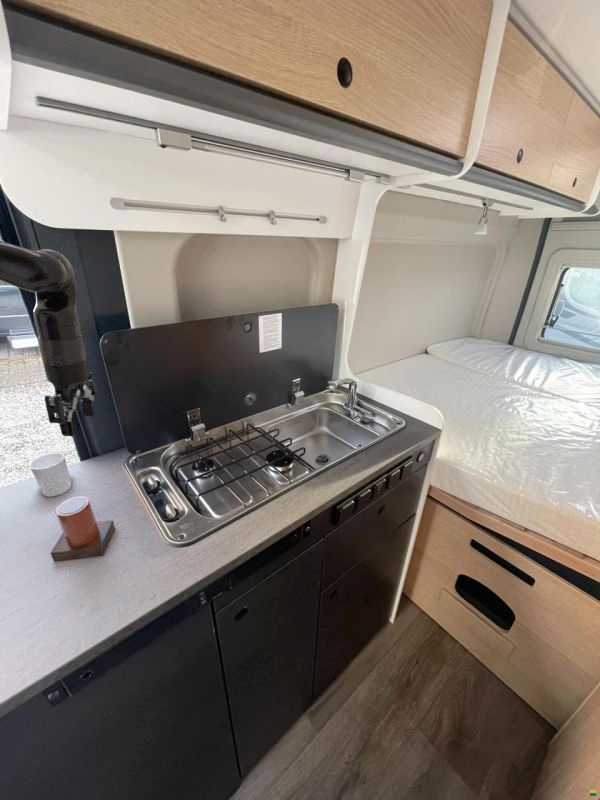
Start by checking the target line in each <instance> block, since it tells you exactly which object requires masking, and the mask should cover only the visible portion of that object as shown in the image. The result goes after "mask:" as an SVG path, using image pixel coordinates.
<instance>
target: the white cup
mask: <svg viewBox="0 0 600 800" xmlns="http://www.w3.org/2000/svg"><path fill="white" fill-rule="evenodd" d="M29 469H30V471H31V473H32V475H33V477H34V479H35V481H36V483H37V485H38V486H39V488H40V490H41V492H42V493H43V496H45V497H49V498H50V497H51V498H52V497H57V496H60V495H63V494H65V493H66V492H67V491H69V490H70V489H71V487H72V482H71V478H70V473H69V469H68V465H67V462H66V458H65V454H63V453H61V452H51V453H47V454H43V455H40V456H38V457H36V458H34V459H33V460H32V461H31V462H30V463H29Z"/></svg>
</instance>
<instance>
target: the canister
mask: <svg viewBox="0 0 600 800" xmlns="http://www.w3.org/2000/svg"><path fill="white" fill-rule="evenodd" d="M55 515H56V518H57V520H58V523H59V525H60V528H61V530H62V534H63V533H64V535H65V538H66V541H67V543H68V545H70V546H73V547H78V546H82V545H85V544H87V543H89V542H91V541H92V540H93V539H94V538H95V537H96V536H97V535H98V532H99V529H98V526H97V523H96V522H97V520H96V517H95V513H94V511H93V507H92V504H91V501H90V499H89V498H88V497H87V496H85V495H76V496H72V497H69V498H66V499H65V500H63V501H62V502H60V503H59V504H58V505H57V506H56V508H55Z"/></svg>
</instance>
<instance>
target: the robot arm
mask: <svg viewBox="0 0 600 800" xmlns="http://www.w3.org/2000/svg"><path fill="white" fill-rule="evenodd" d="M0 282H3V283H4V284H5V283H6V284H8V285H11V286H13V287H16V288H18V289H21V290H25V291H28V292H30V293H31V292H32V293H35V301H36V302H35V306H34V309H33V321H34V325H35V329H36V333H37V337H38V347H39V352H40V356H41V360H42V364H43V369H44V373H45V377H46V380H47V381H48V382H49V383H51V384H52V385H53V386H54V388H55V389H54V393H53V394H52V395H51V394H45V396H44V403H45V408H46V412H47V417H48V422H49V423H50V424H59V429H60V432H61V434H62V436H64V437H73V436H74V435H75V434H76V431H75V427H74V423H73V420H72V418H73V412H75V411H76V410H77V404H79V402H80V405H81V409H82V414H83V416H85V417H94V416H95V414H96V412H95V407H94V401H95V397H94V396H97V395H98V389H97V385H96V379H95V375H94V372H92V371H90V365H89V360H88V353H87V349H86V344H85V341H84V339H83V335H82V329H81V324H80V320H79V316H78V311H77V310H78V309H77V286H76V284H77V283H76V276H75V272H74V268H73V266H72V264H71V263H70V261H69V260H68V259H67V257H66V256H65V255H63V254H62V253H61V252H58V251H56V250H52V249H48V248H43V249H37V250H33V249H28V248H25V247H21V246H18V245H15V244H13V243H8V242H6V241H4V240H3V239H1V238H0ZM89 388H91V389H89ZM65 411H66V413H65Z"/></svg>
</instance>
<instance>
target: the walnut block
mask: <svg viewBox="0 0 600 800" xmlns="http://www.w3.org/2000/svg"><path fill="white" fill-rule="evenodd" d="M96 523H97V526H98V529H99V532H98V535H97V536H96V537H95V538H94V539H93V540H92V541H91V542H89V543H87V544H85V545H82V546H78V547H73V546H70V545H68V543H67V541H66V538H65V535H64V533H63V532H62V533H61V535H60V536H59V539H58V540H57V542H56V543H55V545H54V546H53V548H52V550H51V552H50V555H51V558H52V561H53V562H54V563H58V562H65V561H75V560H83V559H91V558H98V557H99V558H100V557H104V555H105V554H106V551H107V549H108V547H109V544H110V542H111V539H112V538H113V535H114V533H115V531H116V527H115V524H114V523H115V522H114V520H104V521H96Z"/></svg>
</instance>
